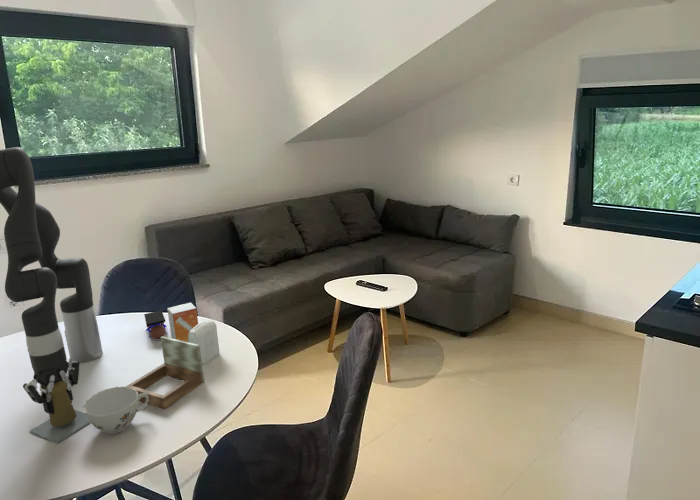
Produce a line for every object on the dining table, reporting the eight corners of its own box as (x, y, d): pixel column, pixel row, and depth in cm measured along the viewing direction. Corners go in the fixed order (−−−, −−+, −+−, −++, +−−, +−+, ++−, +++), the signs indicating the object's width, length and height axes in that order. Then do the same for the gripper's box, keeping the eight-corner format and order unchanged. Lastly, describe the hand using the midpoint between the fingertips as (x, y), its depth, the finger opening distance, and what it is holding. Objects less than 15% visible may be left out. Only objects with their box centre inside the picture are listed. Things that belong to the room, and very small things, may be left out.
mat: (29, 432, 131) (29, 430, 130) (69, 408, 140) (69, 407, 140) (57, 443, 126) (57, 442, 126) (96, 418, 135) (96, 417, 135)
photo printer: (211, 350, 169) (206, 316, 166) (221, 353, 168) (217, 318, 164) (189, 365, 161) (184, 329, 157) (200, 368, 159) (195, 331, 155)
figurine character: (145, 331, 189) (149, 343, 176) (141, 311, 188) (145, 322, 174) (164, 327, 192) (170, 338, 179) (161, 307, 191) (166, 317, 177)
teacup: (94, 449, 123) (88, 421, 121) (84, 424, 133) (79, 397, 130) (158, 425, 131) (153, 398, 129) (145, 403, 141) (140, 377, 139)
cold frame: (127, 397, 144) (120, 359, 141) (168, 372, 157) (162, 336, 154) (165, 410, 138) (158, 370, 134) (204, 382, 151) (199, 344, 147)
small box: (177, 350, 171) (171, 313, 167) (171, 343, 176) (166, 307, 172) (201, 343, 175) (196, 307, 171) (195, 336, 180) (190, 301, 176)
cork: (62, 428, 129) (52, 390, 125) (44, 423, 131) (34, 385, 128) (81, 414, 134) (73, 377, 131) (64, 409, 136) (55, 373, 133)
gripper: (26, 363, 119) (42, 427, 124) (82, 337, 131) (94, 396, 136) (7, 357, 122) (23, 419, 127) (63, 332, 134) (75, 390, 139)
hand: (59, 407), depth 131 cm, fingers open, 4 cm apart
